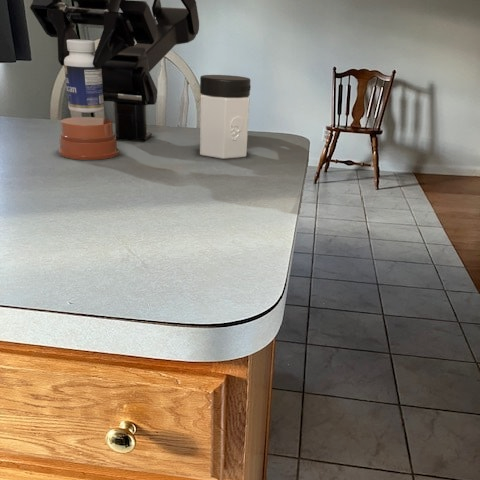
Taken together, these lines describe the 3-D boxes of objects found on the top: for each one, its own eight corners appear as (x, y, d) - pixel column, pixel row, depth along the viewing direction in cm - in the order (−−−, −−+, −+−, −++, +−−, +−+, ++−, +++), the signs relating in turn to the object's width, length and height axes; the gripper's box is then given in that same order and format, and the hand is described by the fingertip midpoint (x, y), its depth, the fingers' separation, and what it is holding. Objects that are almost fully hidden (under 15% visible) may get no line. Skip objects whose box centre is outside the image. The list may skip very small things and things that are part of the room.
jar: (212, 160, 88) (214, 80, 82) (188, 150, 93) (188, 74, 88) (257, 156, 92) (262, 79, 86) (231, 147, 98) (235, 74, 92)
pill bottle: (61, 109, 84) (54, 38, 80) (91, 106, 88) (85, 39, 83) (81, 114, 81) (75, 41, 77) (111, 111, 85) (106, 41, 80)
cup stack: (71, 145, 92) (68, 114, 90) (125, 149, 92) (124, 118, 89) (49, 157, 84) (45, 123, 81) (109, 161, 83) (107, 128, 81)
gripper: (28, -70, 79) (-9, 17, 75) (146, -67, 74) (114, 25, 71) (64, -4, 89) (33, 74, 85) (169, 1, 85) (142, 84, 81)
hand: (77, 64), depth 80 cm, fingers closed on pill bottle, 5 cm apart
